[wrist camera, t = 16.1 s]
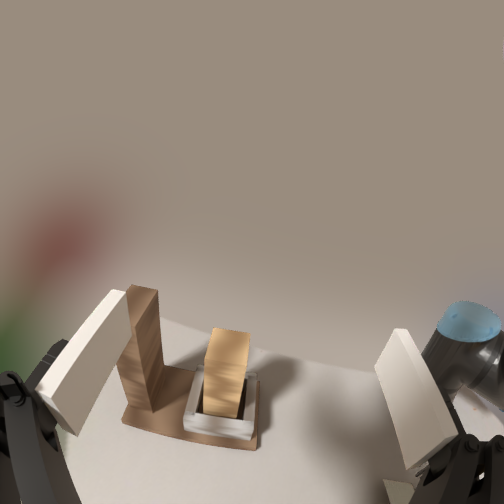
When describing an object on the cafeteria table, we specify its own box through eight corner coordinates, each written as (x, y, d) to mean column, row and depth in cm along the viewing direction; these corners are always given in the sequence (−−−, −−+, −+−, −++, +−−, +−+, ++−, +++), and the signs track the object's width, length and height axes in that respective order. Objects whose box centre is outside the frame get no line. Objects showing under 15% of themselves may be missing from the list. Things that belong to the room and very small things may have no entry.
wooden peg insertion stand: (258, 385, 46) (280, 297, 38) (255, 450, 33) (284, 373, 25) (148, 365, 46) (136, 273, 38) (122, 423, 33) (89, 333, 25)
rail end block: (238, 395, 42) (250, 331, 36) (234, 425, 36) (246, 365, 30) (209, 390, 42) (213, 325, 36) (203, 419, 36) (204, 358, 30)
